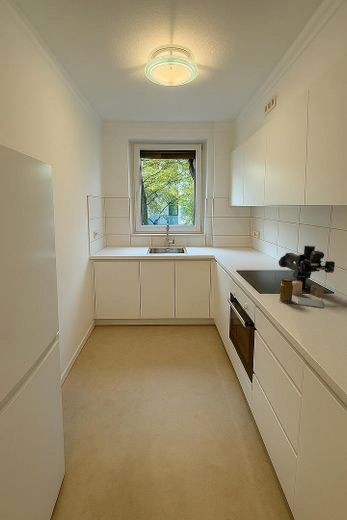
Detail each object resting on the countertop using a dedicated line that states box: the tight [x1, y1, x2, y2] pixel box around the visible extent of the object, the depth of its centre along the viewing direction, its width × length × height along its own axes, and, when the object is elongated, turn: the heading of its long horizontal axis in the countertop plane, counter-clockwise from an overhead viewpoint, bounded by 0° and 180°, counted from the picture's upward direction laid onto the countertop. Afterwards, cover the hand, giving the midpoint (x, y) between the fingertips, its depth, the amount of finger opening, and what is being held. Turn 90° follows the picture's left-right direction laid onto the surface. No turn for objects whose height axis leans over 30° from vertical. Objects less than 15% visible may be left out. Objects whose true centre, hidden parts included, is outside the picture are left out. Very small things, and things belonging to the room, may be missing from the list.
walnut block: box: [309, 284, 325, 298], centre depth 175 cm, size 5×5×5 cm
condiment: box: [278, 278, 298, 305], centre depth 163 cm, size 7×8×12 cm
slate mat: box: [297, 296, 324, 309], centre depth 161 cm, size 12×12×1 cm
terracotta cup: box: [292, 280, 303, 296], centre depth 178 cm, size 6×6×7 cm
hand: (325, 270), depth 164 cm, fingers open, 9 cm apart
